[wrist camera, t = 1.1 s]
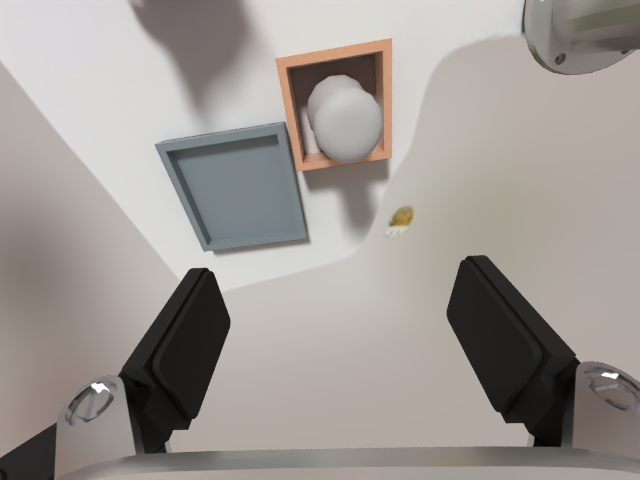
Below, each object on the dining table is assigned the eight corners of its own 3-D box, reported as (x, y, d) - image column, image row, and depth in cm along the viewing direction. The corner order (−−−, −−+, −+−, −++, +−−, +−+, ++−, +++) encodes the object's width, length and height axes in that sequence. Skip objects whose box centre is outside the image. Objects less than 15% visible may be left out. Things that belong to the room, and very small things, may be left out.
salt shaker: (369, 129, 27) (405, 164, 16) (318, 146, 28) (318, 190, 17) (357, 65, 24) (391, 55, 13) (299, 86, 25) (286, 93, 14)
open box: (382, 43, 24) (391, 38, 21) (383, 149, 28) (391, 157, 25) (280, 61, 24) (275, 58, 21) (299, 162, 29) (297, 171, 26)
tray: (284, 121, 27) (282, 124, 25) (306, 231, 34) (306, 238, 32) (163, 141, 28) (154, 144, 26) (208, 243, 35) (203, 251, 33)
